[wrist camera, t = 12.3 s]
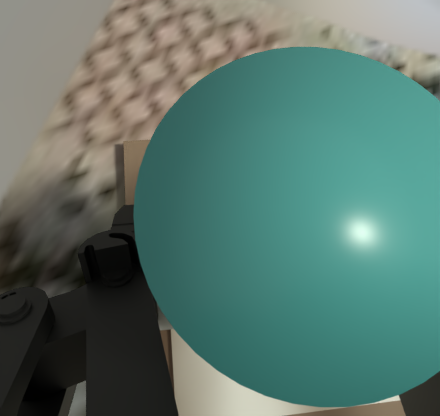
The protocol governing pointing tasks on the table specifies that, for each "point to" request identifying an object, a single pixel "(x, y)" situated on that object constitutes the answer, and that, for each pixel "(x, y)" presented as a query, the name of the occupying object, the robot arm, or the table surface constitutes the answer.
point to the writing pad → (214, 380)
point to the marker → (299, 225)
